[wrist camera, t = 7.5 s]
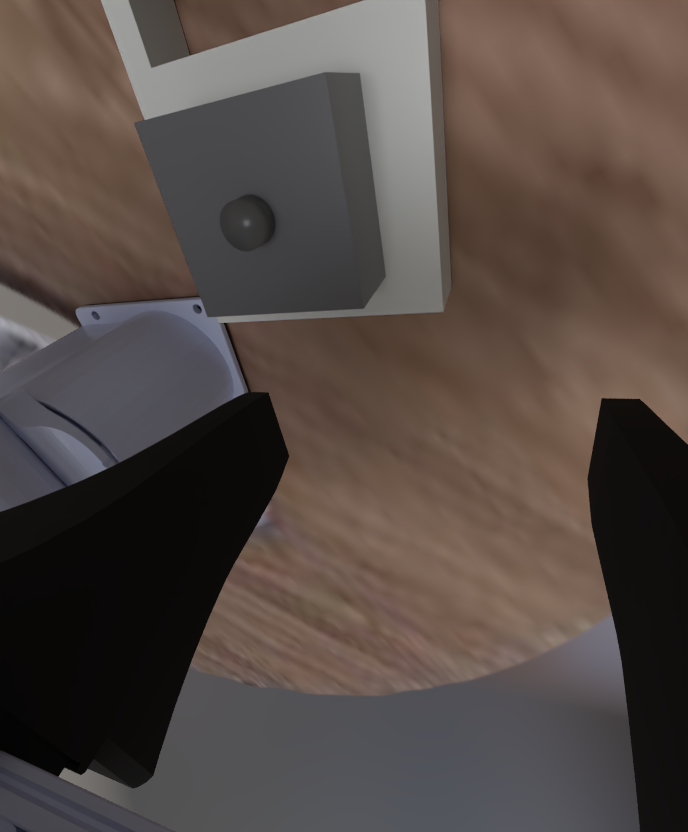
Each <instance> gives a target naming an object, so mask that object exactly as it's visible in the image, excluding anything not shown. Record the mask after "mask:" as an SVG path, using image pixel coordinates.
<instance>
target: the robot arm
mask: <svg viewBox="0 0 688 832" xmlns="http://www.w3.org/2000/svg"><path fill="white" fill-rule="evenodd" d="M197 305H199V306H200V307H201V309H202V311H201V310H200V309H199V308H198V307H197ZM98 314H99V315H98ZM76 315H77V317H78V319H79V321H80V323H81V325H82V327H80V328H78V329H77V330H75V331H73V332H71V333H70V334H68V335H66V336H64V337H62V338H61V339H59V340H57V341H55V342H54V343H52V344H50V345H48V346H47V347H45V348H43V349H41V350H39V351H38V352H36V353H34V354H32V355H31V356H29V357H27V358H25V359H24V360H22V361H20V362H18V363H16V364H15V365H13V366H11V367H9V368H8V369H6V370H4V371H2V372H1V373H0V832H175V831H173V830H171V829H169V828H167V827H165V826H163V825H160V824H158V823H156V822H154V821H152V820H150V819H147V818H145V817H143V816H141V815H139V814H137V813H134V812H132V811H130V810H128V809H126V808H124V807H122V806H119V805H117V804H115V803H113V802H111V801H109V800H107V799H105V798H102V797H100V796H98V795H96V794H94V793H91V792H89V791H87V790H85V789H83V788H81V787H79V786H77V785H74V784H72V783H70V782H68V781H66V780H63V779H61V778H59V777H58V776H59V775H60V773H61V772H62V770H63V769H64V768H67V769H69V770H71V771H73V772H75V773H78V774H80V775H82V774H83V773H85V772H86V770H87V769H90V770H92V771H94V772H97V773H99V774H101V775H104V776H106V777H108V778H110V779H113V780H115V781H117V782H119V783H122V784H124V785H126V786H128V787H131V788H136V787H139V786H141V785H142V784H144V783H146V782H147V781H148V780H149V779H150V778H151V777H152V776H153V775H154V771H155V768H156V764H157V761H158V758H159V754H160V751H161V748H162V745H163V742H164V739H165V736H166V732H167V729H168V726H169V723H170V720H171V717H172V714H173V711H174V708H175V705H176V702H177V699H178V696H179V694H180V691H181V688H182V685H183V683H184V680H185V677H186V674H187V672H188V669H189V666H190V663H191V661H192V658H193V655H194V653H195V651H196V648H197V646H198V643H199V641H200V638H201V636H202V633H203V631H204V628H205V626H206V623H207V621H208V618H209V616H210V614H211V612H212V609H213V607H214V605H215V603H216V600H217V598H218V596H219V594H220V591H221V589H222V587H223V585H224V582H225V580H226V578H227V576H228V575H229V573H230V571H231V569H232V567H233V565H234V563H235V561H236V560H237V558H238V556H239V554H240V553H241V551H242V549H243V547H244V546H245V544H246V542H247V541H248V539H249V537H250V535H251V534H252V532H253V530H254V528H255V527H256V525H257V523H258V521H259V520H260V518H261V516H262V514H263V513H264V511H265V509H266V507H267V505H268V504H269V502H270V500H271V498H272V496H273V495H274V493H275V491H276V489H277V486H278V484H279V482H280V479H281V477H282V474H283V471H284V469H285V466H286V463H287V461H288V458H289V454H288V451H287V448H286V445H285V442H284V439H283V436H282V433H281V430H280V427H279V423H278V420H277V417H276V414H275V411H274V408H273V405H272V402H271V399H270V396H269V393H265V392H248V389H247V387H246V384H245V381H244V378H243V375H242V373H241V370H240V367H239V364H238V361H237V359H236V356H235V353H234V350H233V348H232V345H231V342H230V339H229V336H228V334H227V331H226V328H225V325H224V323H219V322H218V319H217V317H207V314H206V312H205V309H204V306H203V304H202V301H201V298H200V297H191V298H178V299H165V300H152V301H139V302H126V303H113V304H100V305H86V306H81V307H79V308H77V309H76ZM588 489H589V501H590V512H591V522H592V528H593V532H594V537H595V542H596V546H597V550H598V555H599V559H600V564H601V568H602V572H603V577H604V581H605V585H606V590H607V594H608V599H609V603H610V607H611V612H612V616H613V620H614V624H615V629H616V633H617V639H618V644H619V649H620V655H621V660H622V668H623V676H624V684H625V693H626V701H627V709H628V717H629V726H630V735H631V745H632V753H633V763H634V772H635V782H636V792H637V803H638V813H639V824H640V832H688V444H687V443H685V442H684V441H683V440H682V439H681V438H680V437H679V436H678V435H677V434H676V433H675V432H674V431H673V430H672V429H671V428H670V427H669V426H668V425H666V424H665V423H664V422H663V421H662V420H661V419H660V418H659V417H658V416H657V415H656V414H655V413H654V412H653V411H652V410H651V409H650V408H649V407H648V406H647V405H646V404H645V403H644V402H642V401H641V400H640V399H607V398H602V400H601V406H600V411H599V417H598V423H597V428H596V434H595V440H594V445H593V451H592V457H591V462H590V468H589V474H588Z"/></svg>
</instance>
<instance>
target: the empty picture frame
mask: <svg viewBox="0 0 688 832" xmlns="http://www.w3.org/2000/svg"><path fill="white" fill-rule="evenodd" d="M101 2H102V5H103V7H104V10H105V13H106V16H107V18H108V21H109V24H110V27H111V29H112V32H113V35H114V38H115V40H116V43H117V46H118V48H119V51H120V54H121V57H122V59H123V62H124V65H125V68H126V70H127V73H128V76H129V79H130V81H131V84H132V87H133V90H134V92H135V95H136V98H137V100H138V103H139V106H140V109H141V111H142V114H143V117H144V120H143V121H139V122H136V123H134V124H135V126H136V129H137V132H138V134H139V137H140V140H141V142H142V145H143V148H144V150H145V153H146V156H147V158H148V161H149V164H150V166H151V169H152V171H153V174H154V177H155V179H156V182H157V185H158V187H159V190H160V193H161V195H162V198H163V201H164V203H165V206H166V208H167V211H168V214H169V216H170V219H171V222H172V224H173V227H174V230H175V232H176V235H177V238H178V240H179V243H180V246H181V248H182V251H183V253H184V256H185V259H186V261H187V264H188V267H189V269H190V272H191V275H192V277H193V280H194V283H195V285H196V288H197V291H198V293H199V296H200V298H201V301H202V304H203V306H204V309H205V312H206V314H207V317H217V319H218V322H219V323H230V322H251V321H271V320H291V319H311V318H332V317H352V316H372V315H393V314H413V313H433V312H443V311H444V308H445V305H446V302H447V299H448V296H449V293H450V290H451V267H450V245H449V223H448V200H447V178H446V156H445V134H444V112H443V90H442V68H441V45H440V23H439V1H438V0H364V1H360V2H357V3H354V4H351V5H348V6H345V7H342V8H338V9H335V10H332V11H329V12H326V13H323V14H320V15H316V16H313V17H310V18H307V19H304V20H301V21H298V22H294V23H291V24H288V25H285V26H282V27H279V28H276V29H272V30H269V31H266V32H263V33H260V34H257V35H254V36H250V37H247V38H244V39H241V40H238V41H235V42H232V43H228V44H225V45H222V46H219V47H216V48H213V49H210V50H206V51H203V52H200V53H197V54H194V55H191V56H190V53H189V50H188V47H187V43H186V40H185V36H184V33H183V30H182V26H181V23H180V20H179V16H178V13H177V9H176V6H175V3H174V0H101Z"/></svg>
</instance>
